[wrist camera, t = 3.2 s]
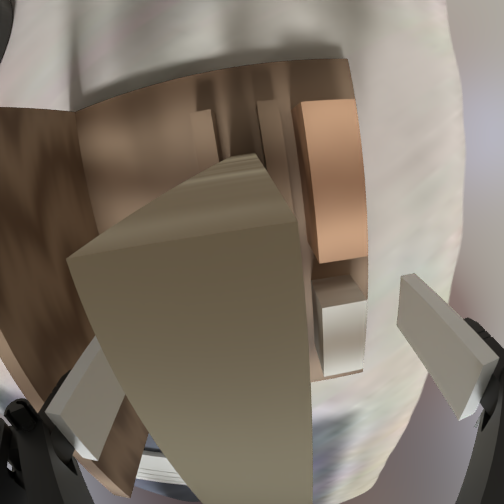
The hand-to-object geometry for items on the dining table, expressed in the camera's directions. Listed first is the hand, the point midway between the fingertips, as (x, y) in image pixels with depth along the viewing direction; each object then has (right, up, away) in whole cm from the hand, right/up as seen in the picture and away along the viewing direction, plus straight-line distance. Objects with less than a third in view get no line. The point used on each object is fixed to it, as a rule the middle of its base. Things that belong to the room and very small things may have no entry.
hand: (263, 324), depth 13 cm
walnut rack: (-3, +3, +9) cm, 10 cm away
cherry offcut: (+4, +8, +6) cm, 11 cm away
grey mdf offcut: (+6, -1, +10) cm, 11 cm away
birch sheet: (0, +3, +8) cm, 9 cm away
